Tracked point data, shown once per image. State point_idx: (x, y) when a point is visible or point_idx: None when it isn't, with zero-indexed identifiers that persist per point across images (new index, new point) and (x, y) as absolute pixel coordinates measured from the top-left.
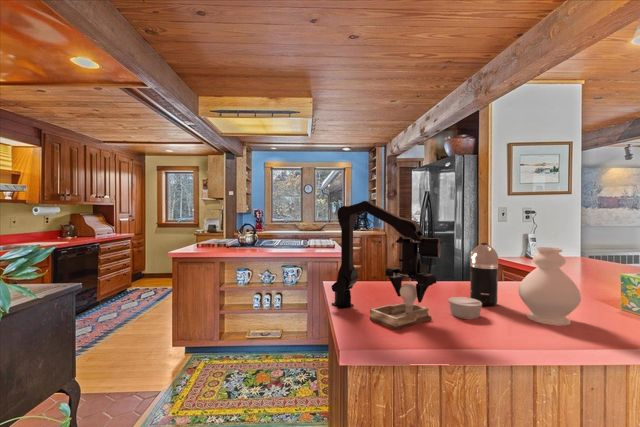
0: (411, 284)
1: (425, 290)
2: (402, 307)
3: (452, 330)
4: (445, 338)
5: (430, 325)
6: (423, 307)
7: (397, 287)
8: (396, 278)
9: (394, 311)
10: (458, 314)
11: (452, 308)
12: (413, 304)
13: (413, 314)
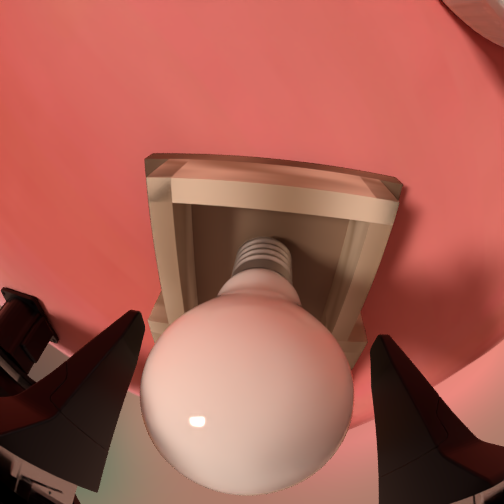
0: (280, 490)
1: (454, 424)
2: (185, 247)
3: (498, 251)
4: (474, 325)
5: (419, 269)
6: (358, 213)
7: (113, 405)
8: (76, 478)
9: (195, 302)
10: (499, 44)
11: (482, 17)
12: (297, 293)
13: (358, 356)
